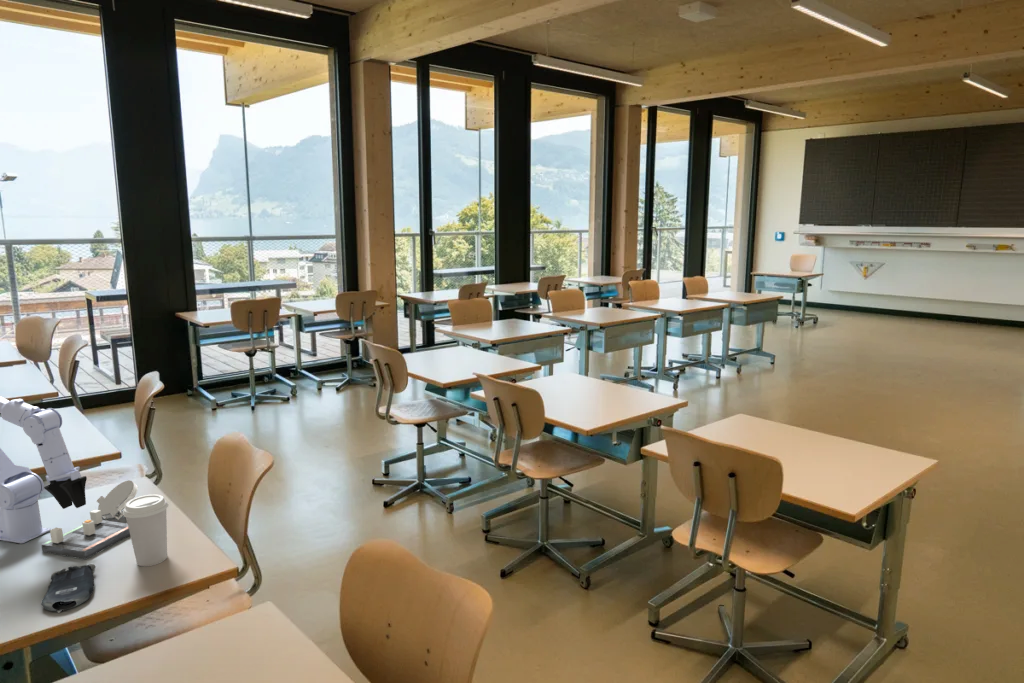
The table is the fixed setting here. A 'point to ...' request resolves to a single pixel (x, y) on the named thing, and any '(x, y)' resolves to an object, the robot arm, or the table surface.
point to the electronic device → (70, 587)
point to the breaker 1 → (56, 535)
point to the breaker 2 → (96, 516)
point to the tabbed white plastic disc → (117, 500)
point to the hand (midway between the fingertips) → (74, 506)
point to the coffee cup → (148, 528)
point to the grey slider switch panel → (88, 540)
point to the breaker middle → (88, 527)
